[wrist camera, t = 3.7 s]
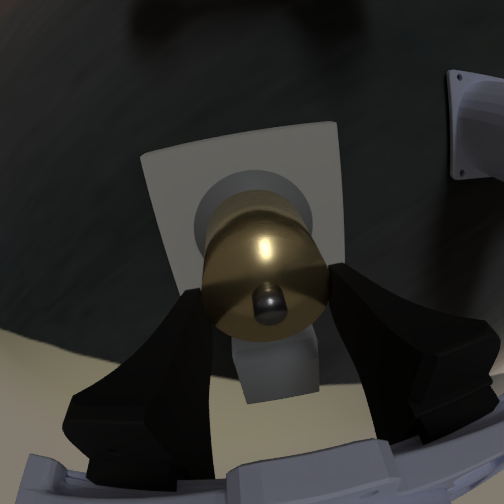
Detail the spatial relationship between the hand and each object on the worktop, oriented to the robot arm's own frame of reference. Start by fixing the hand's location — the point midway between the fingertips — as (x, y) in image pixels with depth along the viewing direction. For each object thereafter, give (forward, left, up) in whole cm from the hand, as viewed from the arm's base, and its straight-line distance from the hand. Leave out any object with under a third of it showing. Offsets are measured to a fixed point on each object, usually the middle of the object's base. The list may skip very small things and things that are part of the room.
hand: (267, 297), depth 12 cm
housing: (0, -1, -5) cm, 5 cm away
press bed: (0, +2, -8) cm, 8 cm away
